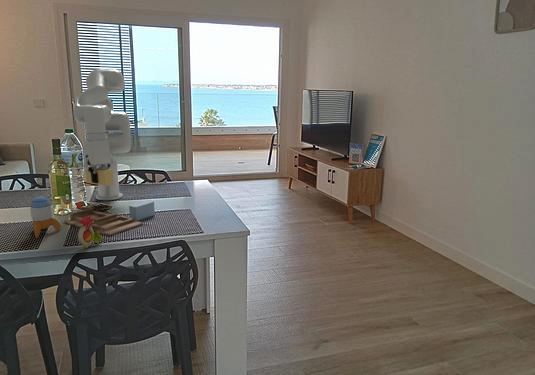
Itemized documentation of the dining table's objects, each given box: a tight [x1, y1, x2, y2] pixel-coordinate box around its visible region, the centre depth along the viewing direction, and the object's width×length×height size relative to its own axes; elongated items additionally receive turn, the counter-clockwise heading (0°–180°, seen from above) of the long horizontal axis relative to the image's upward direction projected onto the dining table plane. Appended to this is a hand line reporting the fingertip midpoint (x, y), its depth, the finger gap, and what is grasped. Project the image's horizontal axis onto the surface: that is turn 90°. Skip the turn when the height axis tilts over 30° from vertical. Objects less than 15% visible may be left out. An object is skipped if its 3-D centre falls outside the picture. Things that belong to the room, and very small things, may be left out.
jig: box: [63, 207, 144, 237], centre depth 171 cm, size 28×16×3 cm, turn 58°
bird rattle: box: [77, 216, 104, 249], centre depth 147 cm, size 6×11×9 cm
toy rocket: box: [29, 196, 62, 239], centre depth 159 cm, size 10×11×15 cm
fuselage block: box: [84, 166, 114, 186], centre depth 174 cm, size 12×4×7 cm, turn 60°
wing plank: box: [128, 200, 156, 222], centre depth 180 cm, size 4×10×6 cm, turn 148°
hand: (99, 181), depth 174 cm, fingers closed on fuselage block, 4 cm apart
